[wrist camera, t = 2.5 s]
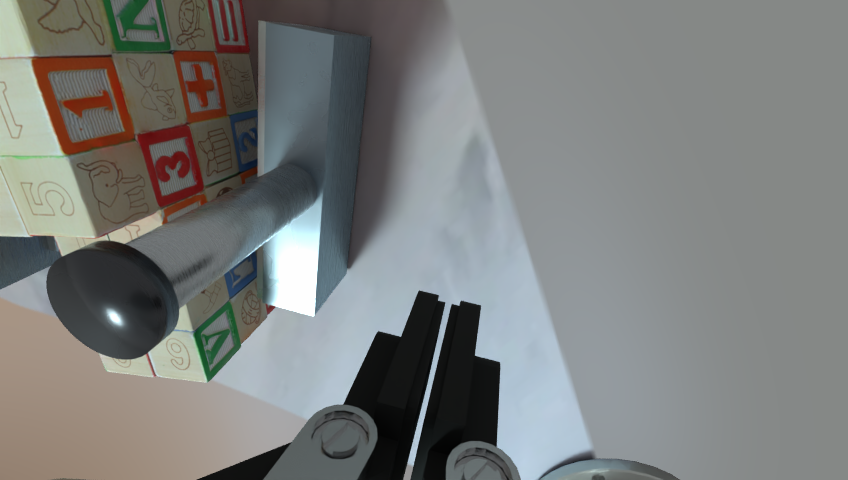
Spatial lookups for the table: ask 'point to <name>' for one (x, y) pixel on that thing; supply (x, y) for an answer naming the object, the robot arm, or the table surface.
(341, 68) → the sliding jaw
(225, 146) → the stack of blocks
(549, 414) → the table surface
